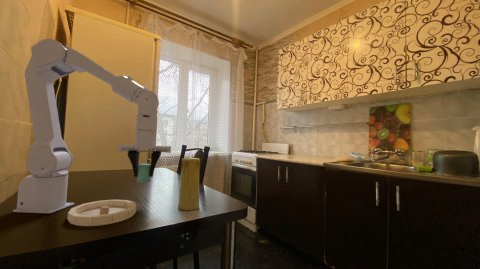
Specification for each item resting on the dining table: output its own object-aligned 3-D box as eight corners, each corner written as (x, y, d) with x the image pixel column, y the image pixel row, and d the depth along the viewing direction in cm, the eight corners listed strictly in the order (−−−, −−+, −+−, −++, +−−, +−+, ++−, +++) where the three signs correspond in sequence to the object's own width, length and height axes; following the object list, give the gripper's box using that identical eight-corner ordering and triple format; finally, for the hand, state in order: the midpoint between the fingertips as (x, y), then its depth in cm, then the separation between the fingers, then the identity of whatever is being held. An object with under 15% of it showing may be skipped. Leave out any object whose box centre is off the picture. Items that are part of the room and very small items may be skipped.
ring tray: (51, 224, 46) (52, 215, 46) (96, 205, 60) (96, 198, 60) (115, 227, 46) (115, 218, 46) (144, 207, 60) (145, 200, 60)
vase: (194, 211, 58) (196, 160, 59) (173, 209, 59) (176, 158, 60) (202, 205, 64) (204, 158, 65) (183, 203, 65) (186, 157, 66)
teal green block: (134, 182, 61) (135, 164, 62) (140, 179, 65) (141, 163, 65) (146, 182, 61) (147, 165, 62) (152, 180, 65) (153, 164, 65)
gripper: (115, 129, 58) (112, 178, 57) (171, 131, 62) (168, 178, 61) (122, 130, 65) (119, 174, 64) (171, 132, 69) (169, 174, 68)
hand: (143, 176), depth 63 cm, fingers closed on teal green block, 4 cm apart
